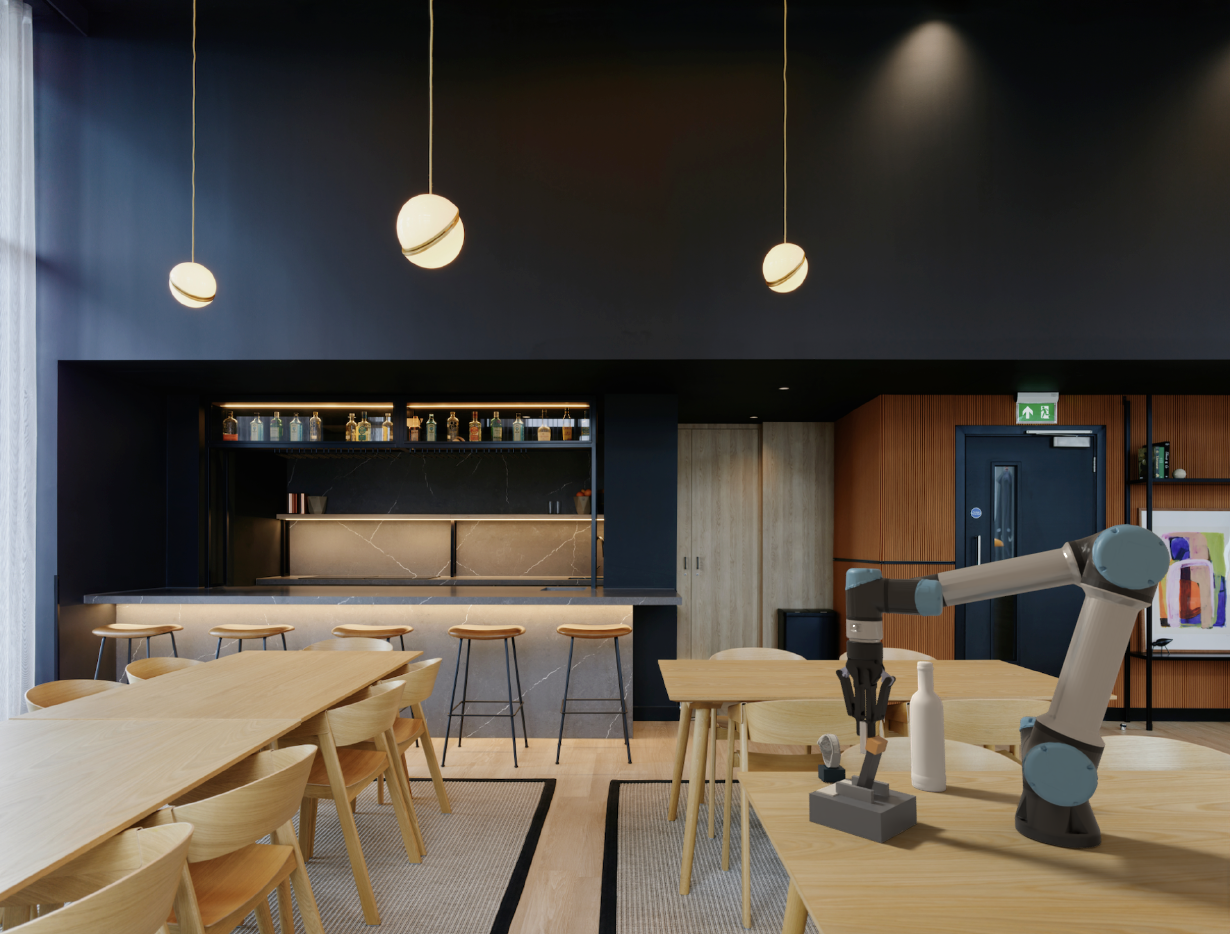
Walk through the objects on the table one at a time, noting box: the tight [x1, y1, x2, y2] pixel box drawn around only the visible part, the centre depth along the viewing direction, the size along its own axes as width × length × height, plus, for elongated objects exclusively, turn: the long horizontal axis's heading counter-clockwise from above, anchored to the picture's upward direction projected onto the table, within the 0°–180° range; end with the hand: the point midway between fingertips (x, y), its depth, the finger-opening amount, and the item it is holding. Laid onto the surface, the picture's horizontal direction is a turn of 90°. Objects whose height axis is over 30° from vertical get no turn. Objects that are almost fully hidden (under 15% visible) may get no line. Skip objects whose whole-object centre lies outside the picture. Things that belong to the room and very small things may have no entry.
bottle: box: [909, 660, 947, 793], centre depth 182 cm, size 8×8×30 cm
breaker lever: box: [857, 734, 889, 789], centre depth 156 cm, size 2×4×11 cm, turn 133°
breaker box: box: [808, 774, 918, 844], centre depth 156 cm, size 16×16×8 cm
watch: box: [816, 733, 847, 784], centre depth 186 cm, size 6×8×11 cm
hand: (866, 752), depth 157 cm, fingers closed
